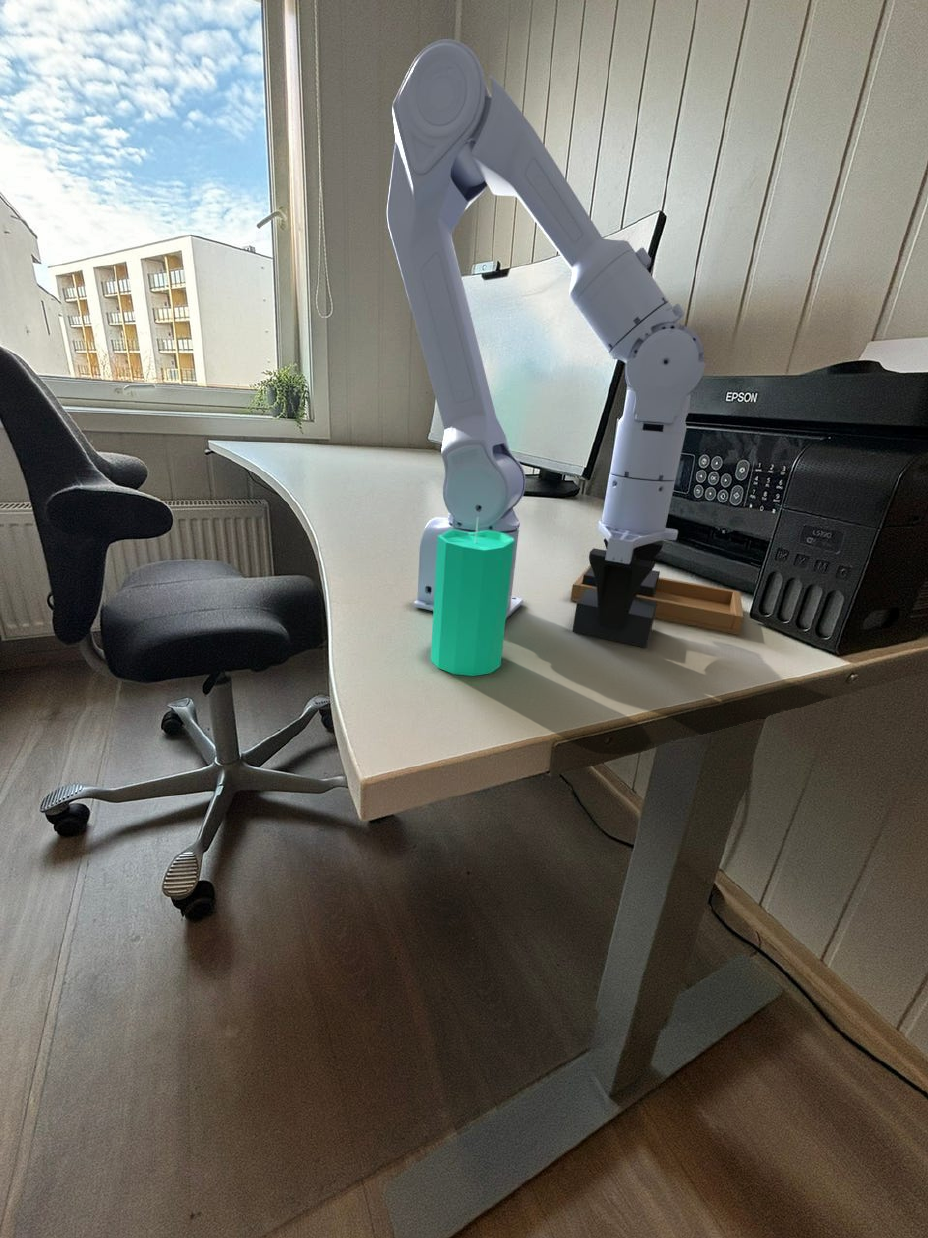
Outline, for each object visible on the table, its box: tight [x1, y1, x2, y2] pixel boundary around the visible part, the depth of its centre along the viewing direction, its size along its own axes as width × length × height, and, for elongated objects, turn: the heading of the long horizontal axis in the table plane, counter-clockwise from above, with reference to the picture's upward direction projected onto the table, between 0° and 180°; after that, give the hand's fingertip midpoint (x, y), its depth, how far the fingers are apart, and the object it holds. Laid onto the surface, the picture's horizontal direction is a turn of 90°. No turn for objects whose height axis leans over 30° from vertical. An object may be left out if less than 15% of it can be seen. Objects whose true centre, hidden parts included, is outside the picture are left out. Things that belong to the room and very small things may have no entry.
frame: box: [569, 564, 745, 636], centre depth 63 cm, size 18×10×2 cm, turn 66°
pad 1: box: [582, 567, 661, 598], centre depth 64 cm, size 8×7×2 cm
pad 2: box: [572, 588, 658, 649], centre depth 54 cm, size 7×6×3 cm
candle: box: [430, 517, 514, 677], centre depth 44 cm, size 6×6×12 cm
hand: (615, 617), depth 54 cm, fingers closed on pad 2, 5 cm apart
